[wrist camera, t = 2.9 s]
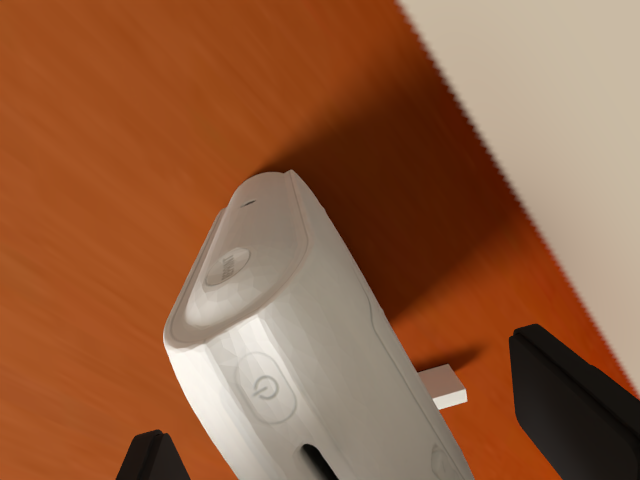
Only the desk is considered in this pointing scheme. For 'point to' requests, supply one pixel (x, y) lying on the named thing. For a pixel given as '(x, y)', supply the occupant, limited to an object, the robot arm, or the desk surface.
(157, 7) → the desk surface
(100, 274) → the desk surface
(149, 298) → the desk surface
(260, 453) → the photo printer
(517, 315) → the desk surface
